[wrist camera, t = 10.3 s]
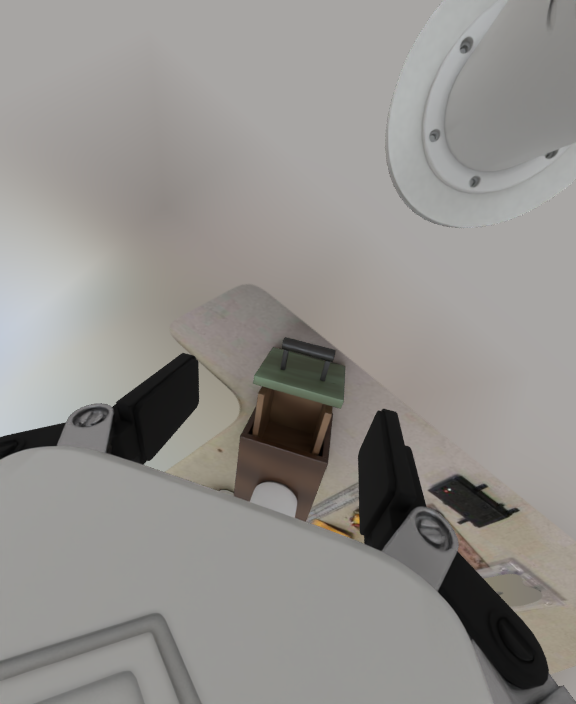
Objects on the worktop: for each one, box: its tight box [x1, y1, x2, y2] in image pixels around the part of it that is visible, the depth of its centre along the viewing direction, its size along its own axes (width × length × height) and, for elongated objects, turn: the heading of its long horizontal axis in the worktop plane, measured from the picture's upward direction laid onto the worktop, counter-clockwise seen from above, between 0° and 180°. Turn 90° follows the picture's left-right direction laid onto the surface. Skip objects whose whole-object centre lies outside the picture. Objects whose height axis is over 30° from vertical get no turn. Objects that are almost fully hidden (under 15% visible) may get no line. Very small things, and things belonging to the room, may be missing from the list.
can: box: [250, 481, 297, 518], centre depth 30 cm, size 6×6×12 cm
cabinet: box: [234, 408, 333, 522], centre depth 39 cm, size 15×12×10 cm
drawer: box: [252, 337, 345, 455], centre depth 33 cm, size 18×10×8 cm, turn 170°
